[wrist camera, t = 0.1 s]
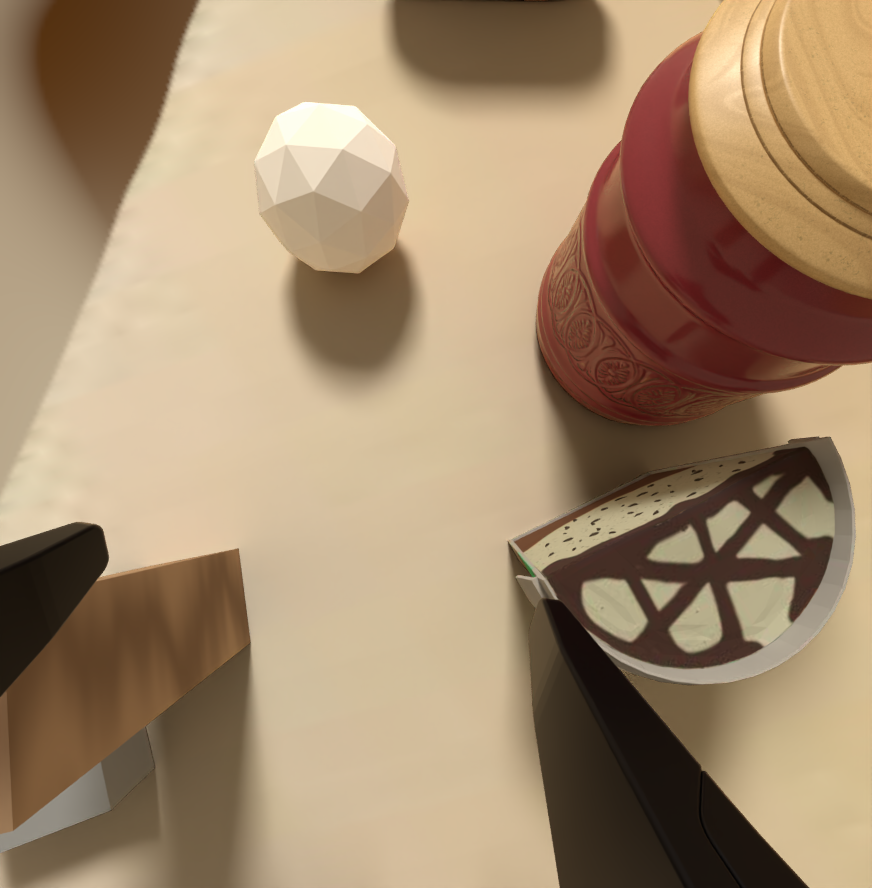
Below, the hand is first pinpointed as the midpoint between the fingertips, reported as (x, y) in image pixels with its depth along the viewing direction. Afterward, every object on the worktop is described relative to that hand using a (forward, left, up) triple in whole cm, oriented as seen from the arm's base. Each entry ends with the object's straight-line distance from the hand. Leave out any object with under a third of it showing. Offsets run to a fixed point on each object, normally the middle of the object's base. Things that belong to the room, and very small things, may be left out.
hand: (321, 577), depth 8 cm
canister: (+7, -18, -15) cm, 25 cm away
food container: (-5, -11, -15) cm, 20 cm away
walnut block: (0, +11, -15) cm, 18 cm away
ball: (+18, -3, -15) cm, 23 cm away
